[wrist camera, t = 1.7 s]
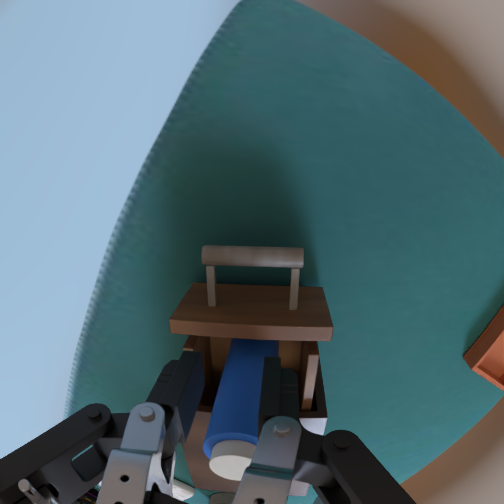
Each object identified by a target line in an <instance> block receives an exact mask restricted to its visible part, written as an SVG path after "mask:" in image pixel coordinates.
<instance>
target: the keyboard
mask: <svg viewBox="0 0 504 504" xmlns="http://www.w3.org/2000/svg"><path fill="white" fill-rule="evenodd" d="M98 494H99V492H98V491H97V490H95V489H93V488H92V489H90V490H89V491H88V492H86V493H85V494H83V495H82V496H81V497H79V498H78V499H77V500H75V501H74V502H72V503H71V504H96V501H97V497H98Z"/></svg>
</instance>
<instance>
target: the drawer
mask: <svg viewBox="0 0 504 504" xmlns="http://www.w3.org/2000/svg"><path fill="white" fill-rule="evenodd" d="M201 259H202V263H203V265H206V275H207V283H193V284H192V285H191V287H190V288H189V290H188V291H187V293H186V294H185V296H184V297H183V299H182V300H181V302H180V303H179V305H178V306H177V308H176V310H175V311H174V313H173V314H172V316H171V317H170V319H169V323H170V330H171V333H175V334H185V335H189V336H188V338H187V340H186V342H185V344H184V347H183V351H184V350H187V351H198V352H201V354H202V361H203V370H204V389H203V393H202V396H201V399H200V402H199V405H204V406H214V403H215V399H216V396H217V392H218V388H219V385H220V381H221V377H222V373H223V370H224V366H225V362H226V359H227V355H228V351H229V348H230V344H231V340H232V338H238V339H257V340H279V356H278V357H281V368H293V370H294V371H295V373H296V374H297V376H298V391H299V392H298V393H299V411H311V405H312V399H313V393H314V387H315V381H316V374H317V367H318V361H319V350H318V344H317V341H331V340H332V334H333V324H332V320H331V316H330V313H329V309H328V305H327V302H326V298H325V294H324V291H323V287H303V286H299V275H300V268H303V263H304V249H303V248H300V247H263V246H223V245H204V246H203V248H202V253H201ZM216 265H225V266H255V267H290V268H291V279H290V286H267V285H239V284H216Z"/></svg>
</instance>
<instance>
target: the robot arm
mask: <svg viewBox="0 0 504 504" xmlns="http://www.w3.org/2000/svg"><path fill="white" fill-rule="evenodd" d="M203 389H204V370H203V361H202V354H201V352H198V351H187V350H184V351H183V353H182V355H181V357H180V359H179V360H171V361H170V362H169V363H168V364H166V365H165V366H164V368H163V370H162V371H161V373H160V375H159V377H158V379H157V381H156V383H155V385H154V387H153V389H152V391H151V392H150V394H149V396H148V398H147V400H146V402H144V403H141V404H138V405H136V406H135V407H134V408H133V409H132V410H131V412H130V413H111V412H110V410H109V408H108V407H107V406H105V405H103V404H98V403H95V404H90V405H87V406H85V407H84V408H82V409H81V410H79V411H78V412H76V413H74V414H73V415H71V416H70V417H68V418H67V419H65V420H63V421H62V422H60V423H59V424H57V425H56V426H54V427H52V428H51V429H49V430H48V431H46V432H44V433H43V434H41V435H40V436H38V437H36V438H35V439H33V440H31V441H30V442H28V443H27V444H25V445H23V446H22V447H20V448H18V449H17V450H15V451H13V452H12V453H10V454H8V455H7V456H5V457H3V458H2V459H0V504H71V503H72V502H74V501H75V500H77V499H78V498H79V497H81V496H82V495H83V494H85V493H86V492H88V491H89V490H90V489H92V488H93V487H94V486H96V485H97V484H98V483H100V482H101V481H102V483H101V486H100V490H99V494H98V497H97V501H96V504H188V503H185V502H183V501H181V500H178V499H176V498H174V497H173V492H172V487H173V478H174V469H175V461H176V450H175V449H176V446H177V443H178V442H180V443H186V441H187V438H188V435H189V432H190V429H191V426H192V423H193V420H194V417H195V414H196V411H197V408H198V405H199V402H200V399H201V396H202V393H203ZM298 392H299V391H298V376H297V374H296V373H295V371H294V370H293V368H281V357H272V356H264V366H263V376H262V385H261V395H260V404H259V413H258V443H257V446H256V449H255V452H254V455H253V457H252V460H251V463H250V465H249V466H247V467H246V469H245V471H244V473H243V476H242V479H241V481H240V484H239V487H238V489H237V492H236V495H235V497H234V500H233V502H232V504H286V503H287V499H288V495H289V491H290V487H291V482H292V479H293V480H296V481H300V482H304V483H308V484H312V486H313V488H314V490H315V491H316V493H317V494H318V496H319V497H320V499H321V500H322V502H323V503H324V504H416V503H415V502H414V500H413V499H412V498H411V497H410V496H409V495H408V494H407V493H406V492H405V490H404V489H403V488H402V487H401V486H400V485H399V484H398V483H397V481H396V480H395V479H394V478H393V477H392V476H391V475H390V473H389V472H388V471H387V470H386V469H385V468H384V467H383V465H382V464H381V463H380V462H379V461H378V460H377V459H376V457H375V456H374V455H373V454H372V453H371V452H370V450H369V449H368V448H367V447H366V446H365V445H364V443H363V442H362V441H361V440H360V439H359V438H358V436H357V435H355V434H354V433H352V432H350V431H346V430H335V431H332V432H330V433H328V434H327V435H326V436H324V435H319V434H315V433H312V432H310V431H308V430H307V429H305V428H304V427H303V426H302V424H301V422H300V418H299V393H298ZM90 445H93V447H91V448H90V449H88V450H87V451H86V452H84V453H83V454H81V455H80V456H79V457H77V458H76V459H74V460H73V461H72V459H73V458H74V457H75V456H76V455H78V454H79V453H80V452H82V451H83V450H85V449H86V448H88V447H89V446H90ZM223 504H224V503H223Z"/></svg>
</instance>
